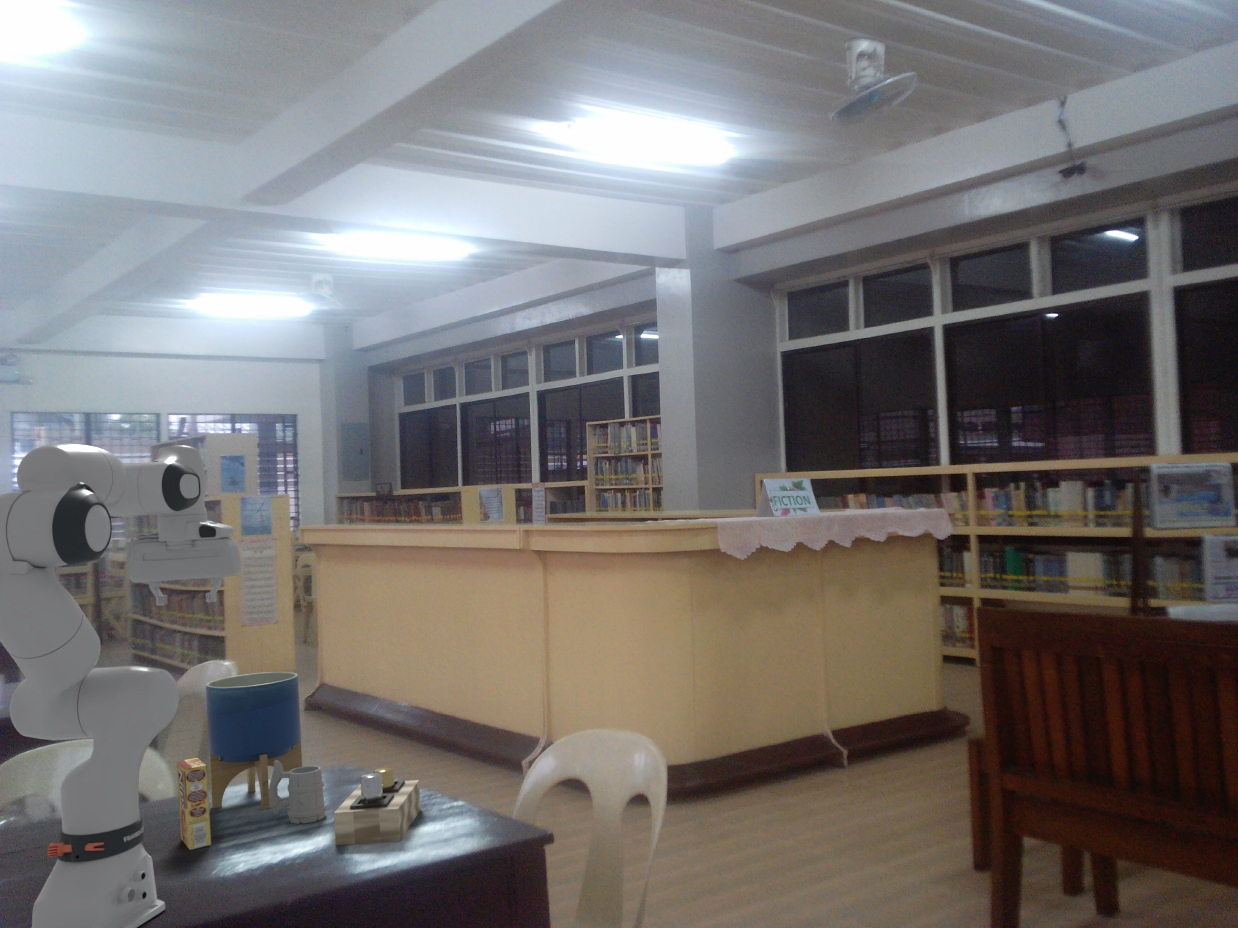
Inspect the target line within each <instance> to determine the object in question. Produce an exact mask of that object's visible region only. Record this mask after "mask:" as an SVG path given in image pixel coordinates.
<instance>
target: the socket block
mask: <svg viewBox="0 0 1238 928" xmlns="http://www.w3.org/2000/svg"><path fill="white" fill-rule="evenodd" d="M394 784H395V787H394V788H387V789H383V802H382V803H368V804H362V800H361V783H360V784H359V785H358V786H357V787H356V788H355V789H354V790H353V792H351V793H350V794H349V796H348V797H346V799H345V800H344V801H343V803H341V804H340V805H339V807H338V808H337V809H336V810H335V811H334V812H333V820H334V821H333V822H334V837H335V839H334V840H335V846H346V845H360V844H361V845H364V844H374V843H375V844H376V843H377V844H378V843H393V842H401V840H402V839H403V838H404V836H405V834H406V833H407V832H408V830H409V828H410V827H411V826H412V824H413V822H414V820H415V819H416V818H417V816H418V815H419V813H420V812H421V810H422V807H421V803H422V802H421V791H420V790H421V789H420V780H419V779H417V780H416V779H414V780H406V779H400V780H394Z"/></svg>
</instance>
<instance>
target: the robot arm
mask: <svg viewBox="0 0 1238 928" xmlns="http://www.w3.org/2000/svg"><path fill="white" fill-rule="evenodd" d="M16 482H17V486H18V489H19V491H18V492H8V493H0V643H1V645H2V646H3V647H4V649H5V650H6V651H7V653H8V654H9V655H10V657H11V658H12V659H13V661H14V662H15V663H16V665H17V667H18V668H19V670H20V671H21V672H22V674H23V676H24V679H23V680H22V681H21V682H20V683H19V684H18V686H17V687H16V689H15V690H14V692H13V693H12V696H11V698H10V699H11V700H10V702H9V703H10V704H9V716H10V720H11V722H12V723H11V724H12V725H13V726H14V729H16V731H17V732H18V733H19V734H20V735H21V736H24V737H28V738H33V739H40V740H47V741H64V740H66V741H67V740H82V739H93V746H92V747H93V749H92V751H91V755H90V757H89V758H88V759H86V760H84V761H82V762H81V763H79V764H78V765H76V766H75V767H74V768H72V769H71V770H70V771H69V772H68V773H67V774H66V776H65V777H64V779H63V781H62V782H61V783H62V784H61V786H60V803H61V804H60V805H61V823H62V825H61V826H62V827H61V828H62V829H61V830H60V832H59V836H58V840H57V843H56V842H50V844H49V845H48V847H47V852H46V853H47V856H48V857H50V858H52V857H55V858H56V862H55V864H54V866H53V868H52V870H51V872H50V874H49V875H48V877H47V880H46V881H45V883H44V885H43V887H42V888H41V891H40V893H39V894H38V895H37V897H36V900H35V902H34V904H33V907H32V913H31V914H32V916H31V918H32V919H31V925H32V926H31V927H30V928H138V927H140V926H141V925H143V924H144V923H146V922H147V921H149V920H151V919H152V918H154V917H155V916H157V915H159V914H160V913H162V912H163V911H165V910H166V903H165V901H164V900H160V899H158V895H157V893H158V892H157V887H156V879H155V873H154V864H153V858H152V856H151V855H150V854H149V853H148V852H147V851H146V849H145V848H144V845H143V844H142V842H143V840H144V831H145V830H144V829H145V828H144V824H143V818H142V816H140V806H139V805H140V801H139V793H140V792H139V791H140V790H139V786H140V785H139V784H140V772H141V766H142V762H143V760H144V759H143V758H144V756H145V754H146V752H147V750H148V749H149V746H150V744H151V742H153V740H154V739H155V738H156V736H158V734H159V733H160V732H162V730H164V729H165V728H166V727H167V726H168V725H169V724H170V723H171V722H172V720H173V718H174V717H175V716H176V714H177V712H178V709H179V706H180V705H179V704H180V690H179V687H178V684H177V681H176V679H175V678H174V676H173V674H171V673H170V672H169V671H168V670H166V669H163V668H157V667H150V666H140V665H126V666H123V665H122V666H107V667H95V666H96V665H97V663H98V661H99V658H100V656H101V648H102V647H101V639H100V636H99V635H98V633H97V631H96V630H95V628H94V627H93V625H92V624H91V622H90V620H89V619H88V617H87V615H85V613H84V611H83V610H82V608H81V607H80V605H79V604H78V602H77V601H76V600H75V598H74V597H73V595H72V594H71V593H70V592H69V591H68V590H67V588H65V586H64V585H63V584H62V583H61V582H60V581H59V580H58V578H57V574H56V568H55V567H61V566H65V565H66V566H67V565H69V566H72V567H74V566H78V565H79V566H80V565H84V564H88V563H91V562H94V561H96V560H98V559H100V558H101V557H102V555H104V553H105V551H106V550H107V548H109V545H110V543H111V538H112V533H113V532H112V531H113V527H112V526H113V524H112V519H117V518H118V519H119V518H123V517H125V518H126V517H139V516H141V517H142V516H153V515H155V516H156V515H157V517H156V518H157V532H151V533H150V532H149V533H137V534H136V535H135V536H133V537H132V538H130V540H129V542H128V551H129V555H130V557H129V566H128V577H129V579H130V581H131V582H132V583H135V584H136V583H147V582H148V589H149V590H150V592H151V593H152V594H153V596H154V597H155V604H156V605H155V606H166V605H168V595H167V594H164V595H163V593H162V590H161V589H160V588H161V587H162V582H168V581H180V580H181V581H182V580H195V579H196V580H199V579H210V584H211V585H212V587H211V589H210V591H209V592H206V593H205V594H204V595H205V602H206V603H216V602H217V601H218V595H217V593H218V591H219V590H220V588H221V586H222V584H223V578H231V577H236V576H238V575H239V573H240V571H241V569H242V566H241V558H240V557H241V556H240V552H239V551H240V550H239V545H238V543H237V541H236V540H235V539H234V538H232V537H233V536H234V535H235V531H234V527H233V526H232V525H229V524H228V525H227V524H223V523H220V522H215V521H212V520H208V511H207V508H206V504H205V497H206V494H207V485H206V483H207V482H206V474H205V466H204V462H203V457H202V454H201V451H200V450H199V449H198V448H196V447H194V446H189V445H182V444H172V445H171V444H170V445H165V446H162V447H160V448H159V449H158V451H157V456H156V459H155V460H153V461H151V462H137V463H136V462H135V463H122V461H121V459H119V457H118V456H117V455H115V454H114V453H112V452H111V451H108V450H106V449H103V448H100V447H97V446H93V445H87V444H82V443H81V444H79V443H70V442H69V443H67V442H65V443H54V444H53V443H52V444H45V445H42V446H39V447H36V448H34V449H32V450H31V451H29V452H28V453H27V454H25V455H24V457H23V458H22V459H21V461H20V462H19V465H18V467H17V472H16Z"/></svg>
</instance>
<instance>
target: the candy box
mask: <svg viewBox="0 0 1238 928" xmlns="http://www.w3.org/2000/svg"><path fill="white" fill-rule="evenodd" d="M176 776H177V790H178V791H177V792H178V807H179V809H178V810H179V819H180V822H179V823H180V838H181V840H182V842H183V843H184V845H186V847H187V848H188V850H190V851H191V850H195V849H201V848H204V847H208V846H209V847H210V846H211V845H212V833H211V819H210V803H209V802H210V801H209V785H208V782H209V781H208V770H207V765H206V763H205V762H203V761H201V759H200V758H198V757H195V758H189V759H183V760H177V761H176Z"/></svg>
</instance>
